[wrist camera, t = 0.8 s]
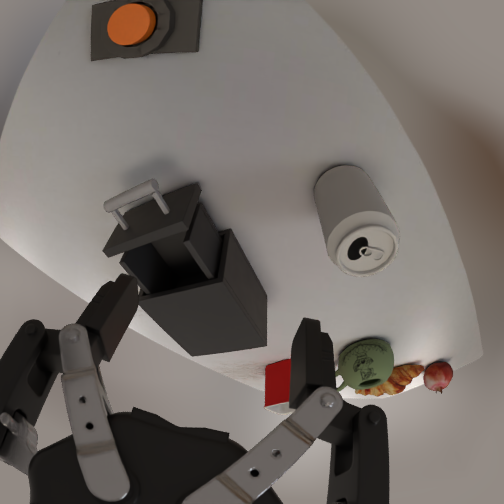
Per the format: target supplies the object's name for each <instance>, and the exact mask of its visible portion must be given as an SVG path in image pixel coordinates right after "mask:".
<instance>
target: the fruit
mask: <svg viewBox="0 0 504 504" xmlns="http://www.w3.org/2000/svg"><path fill="white" fill-rule="evenodd" d="M452 377H453V370H452V368H451V366H450V364H448V363H447V362H440V363H433V364H432V365H430V366H429V367H428V368H427V369H426V371H425V373H424V376H423V379H424V384H425V386H426V387H427V388H428V389H430V390H433V391H436V392H437V391H439V392H441V393H442V389H444V388H446V387H447V386H448V384H449V382H450V381H451V379H452Z"/></svg>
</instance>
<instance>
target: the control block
mask: <svg viewBox="0 0 504 504" xmlns="http://www.w3.org/2000/svg"><path fill="white" fill-rule="evenodd" d="M202 3H203V0H113V1H108V2H104V3H99V4H95V5H92V20H91V61H96V60H102V59H108V58H115V57H121V58H124V59H125V58H134V57H143V56H147V55H149V54H156V53H177V52H198V50H199V36H200V24H201V13H202ZM126 4H140V5H145V6H147V7H149V8H150V9H151V10H152V11H153V12H154V14H155V17H156V25H155V28H154V30H153V32H152V34H151V35H150V36H149V37H148V38H147V39H146V40H144V41H142V42H140V43H137V44H132V45H119V44H117V43H115V42H113V41H112V40H111V38H110V37H109V35H108V31H107V26H108V22H109V19H110V17H111V16H112V14H113V13H114V12H115V11H116V10H117V9H118V8H120V7H122V6H124V5H126Z"/></svg>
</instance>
